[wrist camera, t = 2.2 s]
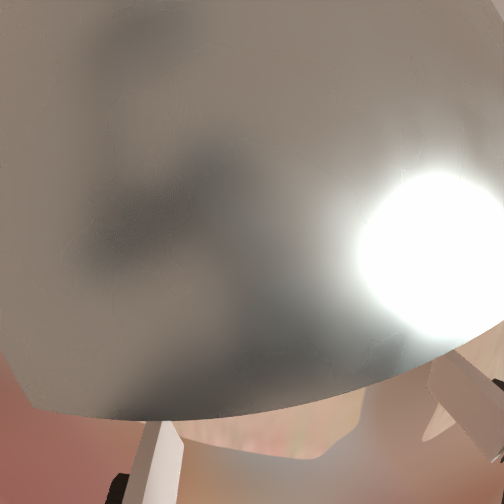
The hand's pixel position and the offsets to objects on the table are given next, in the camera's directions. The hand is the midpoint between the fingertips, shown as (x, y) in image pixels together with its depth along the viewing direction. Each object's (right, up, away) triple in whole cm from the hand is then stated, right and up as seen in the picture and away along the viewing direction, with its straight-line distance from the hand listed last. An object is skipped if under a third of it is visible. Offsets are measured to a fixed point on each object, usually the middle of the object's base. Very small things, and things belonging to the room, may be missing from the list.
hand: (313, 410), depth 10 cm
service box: (-3, +13, +7) cm, 16 cm away
